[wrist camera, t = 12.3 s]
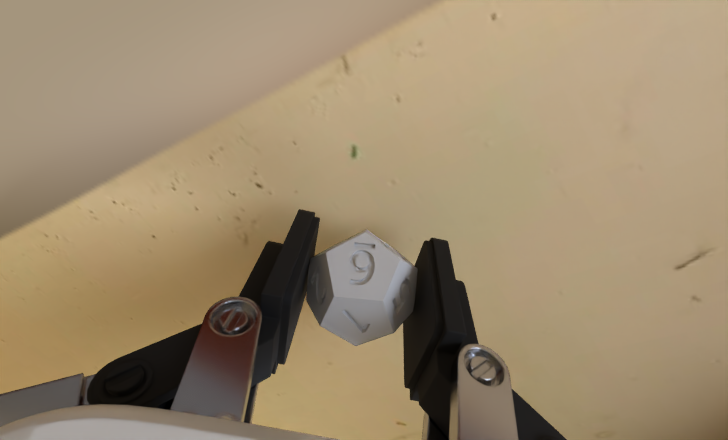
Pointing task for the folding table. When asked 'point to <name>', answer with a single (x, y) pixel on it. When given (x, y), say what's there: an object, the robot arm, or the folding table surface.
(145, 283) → the folding table surface
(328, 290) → the game die
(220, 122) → the folding table surface
